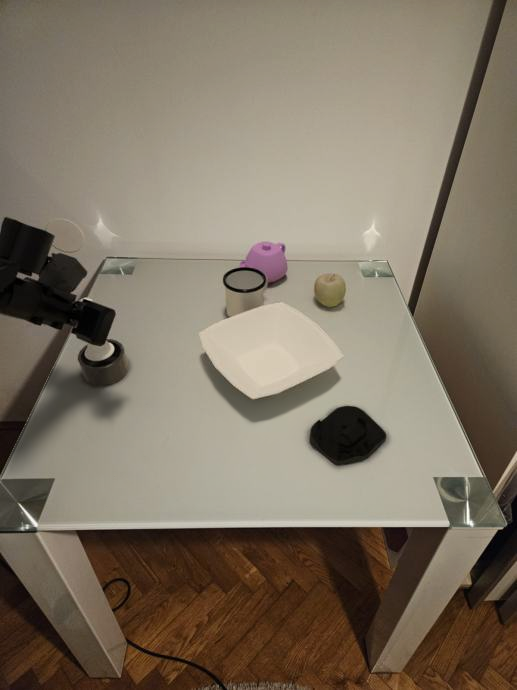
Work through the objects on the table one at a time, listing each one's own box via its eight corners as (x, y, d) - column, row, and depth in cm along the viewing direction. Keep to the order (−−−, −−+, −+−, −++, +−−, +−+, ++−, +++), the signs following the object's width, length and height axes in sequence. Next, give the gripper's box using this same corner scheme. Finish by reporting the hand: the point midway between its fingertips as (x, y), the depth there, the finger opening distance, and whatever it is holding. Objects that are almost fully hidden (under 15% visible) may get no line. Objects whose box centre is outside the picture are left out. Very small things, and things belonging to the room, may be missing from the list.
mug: (246, 330, 95) (245, 296, 89) (215, 312, 99) (213, 278, 93) (280, 306, 101) (282, 272, 95) (250, 290, 106) (250, 257, 100)
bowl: (190, 353, 89) (188, 332, 85) (283, 317, 98) (285, 296, 95) (247, 428, 75) (247, 407, 71) (350, 377, 84) (354, 356, 80)
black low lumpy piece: (346, 401, 80) (350, 383, 76) (392, 434, 74) (398, 415, 71) (302, 437, 74) (304, 419, 70) (348, 476, 68) (353, 458, 65)
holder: (83, 389, 81) (77, 372, 78) (84, 359, 87) (78, 343, 84) (129, 381, 83) (125, 364, 80) (127, 352, 89) (122, 335, 86)
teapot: (298, 275, 111) (301, 242, 105) (254, 297, 104) (255, 263, 98) (270, 259, 117) (271, 227, 111) (227, 279, 110) (225, 246, 103)
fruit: (350, 302, 103) (355, 273, 98) (331, 315, 99) (335, 286, 94) (325, 289, 107) (329, 260, 102) (305, 301, 103) (308, 272, 98)
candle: (81, 361, 79) (62, 307, 72) (89, 342, 83) (73, 289, 76) (110, 361, 79) (95, 308, 72) (117, 342, 83) (103, 290, 76)
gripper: (92, 264, 60) (153, 292, 75) (1, 233, 67) (74, 264, 81) (64, 340, 60) (131, 353, 75) (-25, 301, 67) (53, 320, 81)
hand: (96, 320), depth 78 cm, fingers closed on candle, 2 cm apart
